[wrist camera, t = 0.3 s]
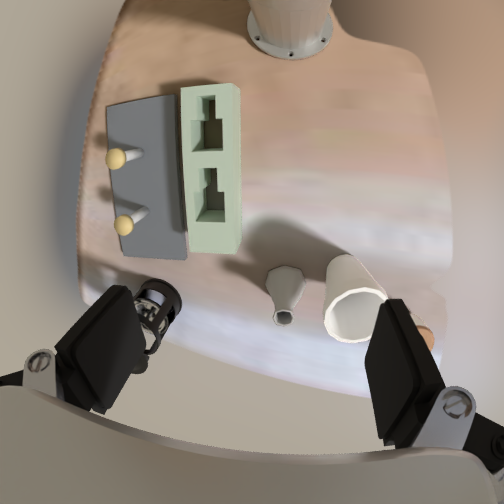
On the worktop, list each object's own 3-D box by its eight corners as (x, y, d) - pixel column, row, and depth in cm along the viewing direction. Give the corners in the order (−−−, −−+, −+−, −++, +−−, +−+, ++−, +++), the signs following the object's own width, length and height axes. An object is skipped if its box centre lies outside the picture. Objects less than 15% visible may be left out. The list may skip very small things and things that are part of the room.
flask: (267, 300, 51) (261, 337, 42) (263, 265, 48) (256, 298, 39) (306, 299, 50) (308, 335, 40) (305, 263, 47) (308, 296, 38)
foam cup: (350, 301, 48) (363, 350, 37) (307, 281, 48) (311, 330, 36) (379, 260, 44) (404, 303, 33) (336, 236, 44) (350, 276, 32)
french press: (166, 270, 51) (102, 353, 30) (193, 308, 54) (148, 399, 33) (127, 290, 55) (66, 364, 34) (153, 324, 57) (105, 403, 37)
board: (110, 107, 39) (77, 107, 31) (177, 94, 37) (150, 88, 29) (126, 253, 51) (101, 275, 43) (187, 257, 49) (168, 283, 41)
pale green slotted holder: (195, 92, 37) (180, 87, 32) (240, 89, 36) (232, 83, 31) (201, 237, 47) (190, 251, 42) (242, 238, 46) (235, 254, 41)
